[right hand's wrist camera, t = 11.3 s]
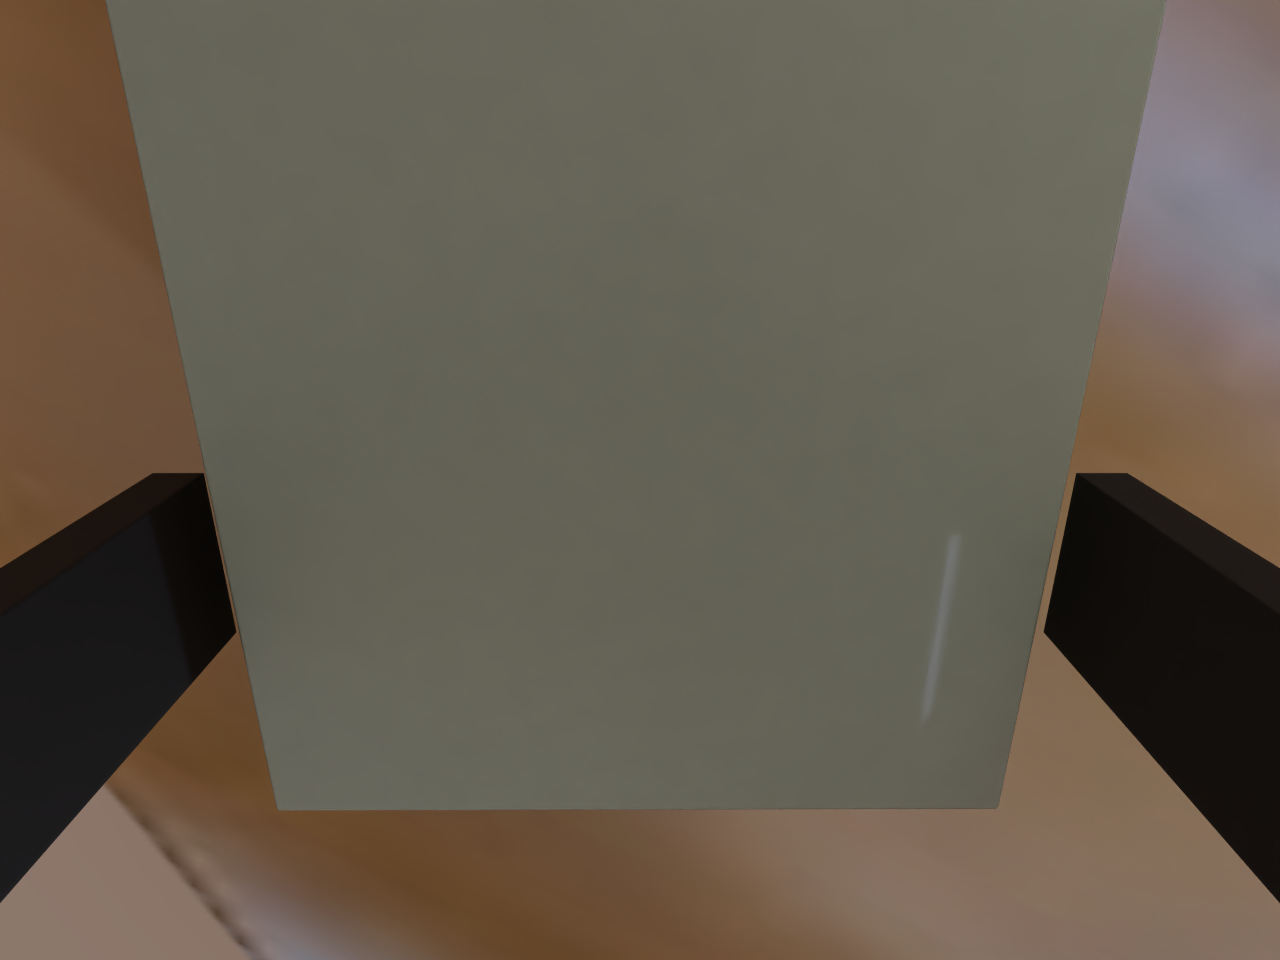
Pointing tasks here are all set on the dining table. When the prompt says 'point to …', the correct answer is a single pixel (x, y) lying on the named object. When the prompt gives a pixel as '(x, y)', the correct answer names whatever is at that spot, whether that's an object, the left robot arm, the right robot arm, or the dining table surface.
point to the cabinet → (636, 378)
